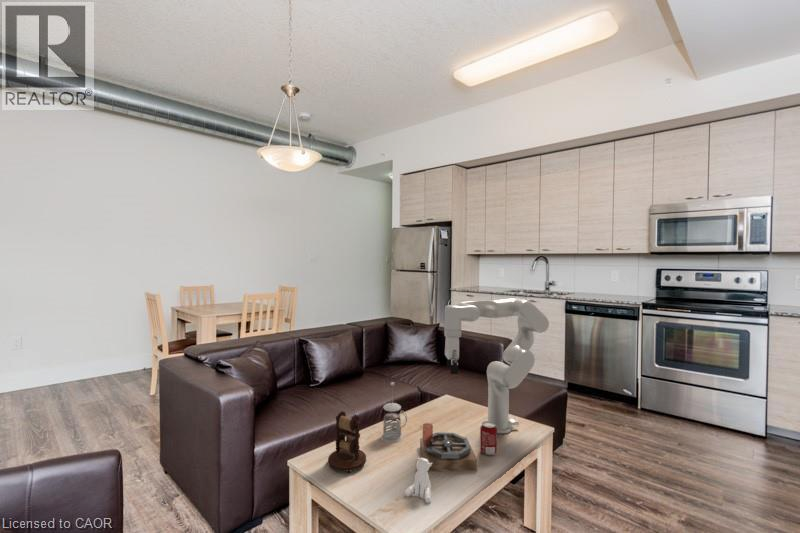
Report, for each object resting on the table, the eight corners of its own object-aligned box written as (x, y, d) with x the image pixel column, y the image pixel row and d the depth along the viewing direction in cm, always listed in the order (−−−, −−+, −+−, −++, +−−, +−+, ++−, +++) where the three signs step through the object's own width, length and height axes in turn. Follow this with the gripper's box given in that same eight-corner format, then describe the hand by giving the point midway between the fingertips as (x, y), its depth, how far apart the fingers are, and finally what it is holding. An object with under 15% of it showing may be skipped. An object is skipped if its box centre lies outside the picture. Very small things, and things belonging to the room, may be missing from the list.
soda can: (496, 457, 154) (497, 428, 154) (479, 455, 156) (480, 426, 155) (496, 449, 161) (496, 421, 161) (479, 447, 162) (480, 419, 162)
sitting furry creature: (403, 496, 129) (403, 462, 129) (412, 482, 137) (413, 450, 136) (429, 504, 125) (430, 468, 125) (437, 489, 133) (438, 456, 133)
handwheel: (465, 437, 162) (465, 416, 162) (473, 459, 145) (473, 436, 144) (421, 436, 162) (421, 416, 162) (424, 459, 145) (424, 435, 144)
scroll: (373, 460, 151) (373, 411, 151) (350, 479, 138) (350, 425, 138) (344, 450, 159) (344, 403, 158) (320, 467, 146) (320, 416, 145)
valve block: (466, 446, 163) (466, 436, 163) (477, 470, 145) (477, 459, 145) (420, 447, 162) (420, 437, 162) (425, 471, 144) (425, 460, 144)
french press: (384, 431, 176) (384, 377, 176) (408, 433, 174) (409, 379, 173) (378, 441, 167) (379, 385, 166) (404, 444, 165) (405, 387, 164)
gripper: (441, 328, 179) (440, 364, 179) (447, 336, 161) (447, 376, 162) (457, 328, 179) (456, 364, 180) (465, 336, 162) (464, 376, 162)
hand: (452, 370), depth 171 cm, fingers open, 9 cm apart
